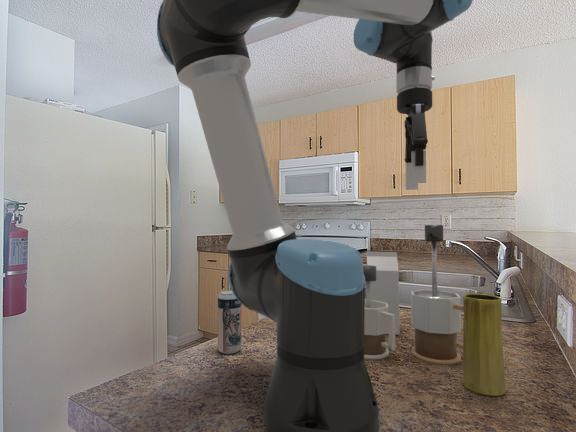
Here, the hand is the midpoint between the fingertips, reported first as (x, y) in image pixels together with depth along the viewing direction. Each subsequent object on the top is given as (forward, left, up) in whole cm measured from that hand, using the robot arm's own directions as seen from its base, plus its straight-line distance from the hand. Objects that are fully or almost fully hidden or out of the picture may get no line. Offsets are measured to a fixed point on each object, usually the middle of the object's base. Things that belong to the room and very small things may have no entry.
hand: (415, 186), depth 76 cm
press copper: (-4, -9, -34) cm, 36 cm away
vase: (-9, -20, -34) cm, 41 cm away
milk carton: (-1, +9, -34) cm, 36 cm away
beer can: (-38, +15, -34) cm, 53 cm away
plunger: (-4, -7, -23) cm, 25 cm away
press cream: (-14, -1, -34) cm, 37 cm away
